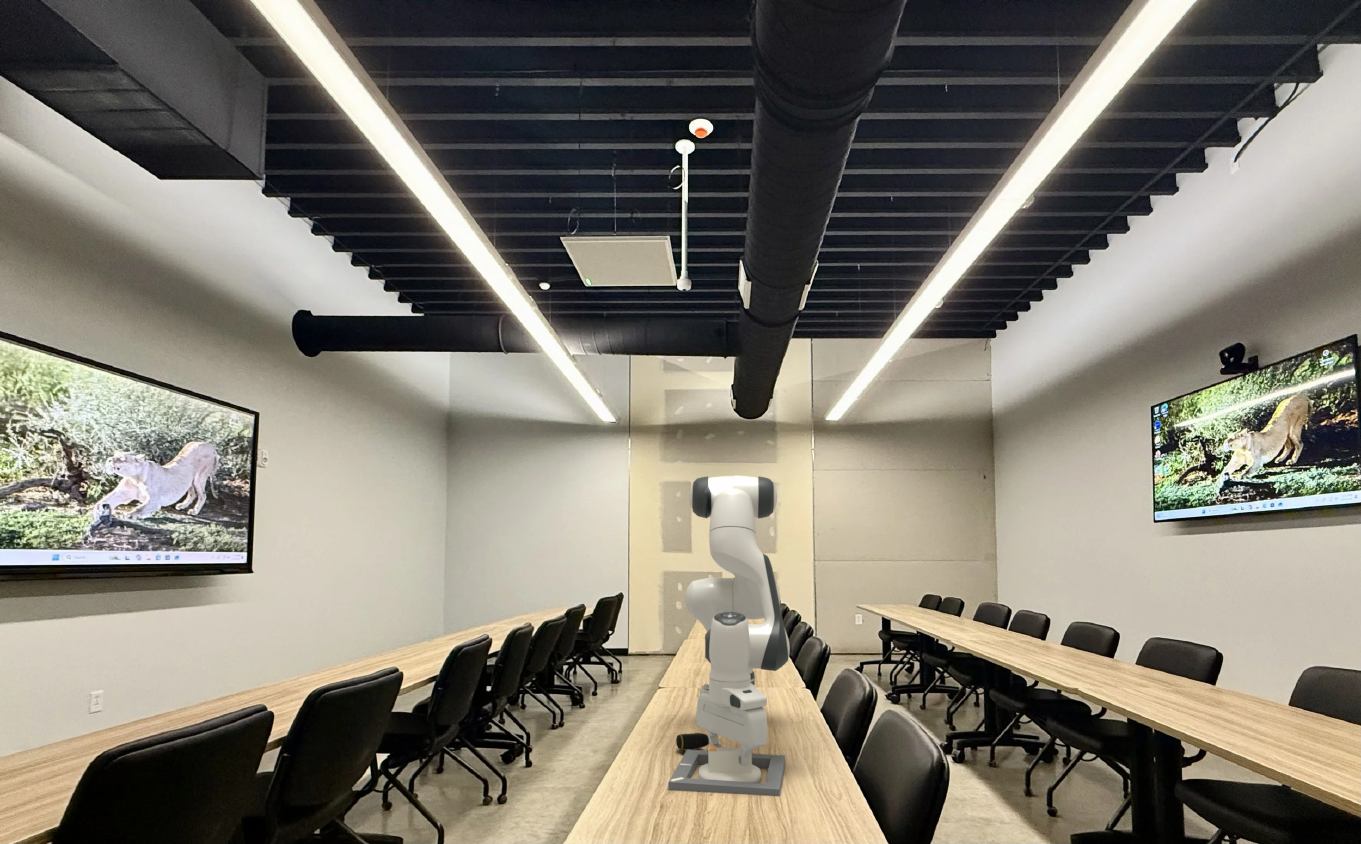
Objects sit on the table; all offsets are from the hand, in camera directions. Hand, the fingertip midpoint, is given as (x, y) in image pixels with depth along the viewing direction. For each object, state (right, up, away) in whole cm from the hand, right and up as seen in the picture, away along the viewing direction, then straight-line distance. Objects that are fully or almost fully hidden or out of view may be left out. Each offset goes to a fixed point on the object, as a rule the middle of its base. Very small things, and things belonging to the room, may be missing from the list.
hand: (729, 758), depth 173 cm
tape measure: (-5, -6, +18) cm, 20 cm away
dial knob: (0, -4, -1) cm, 4 cm away
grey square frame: (0, -4, -1) cm, 4 cm away
